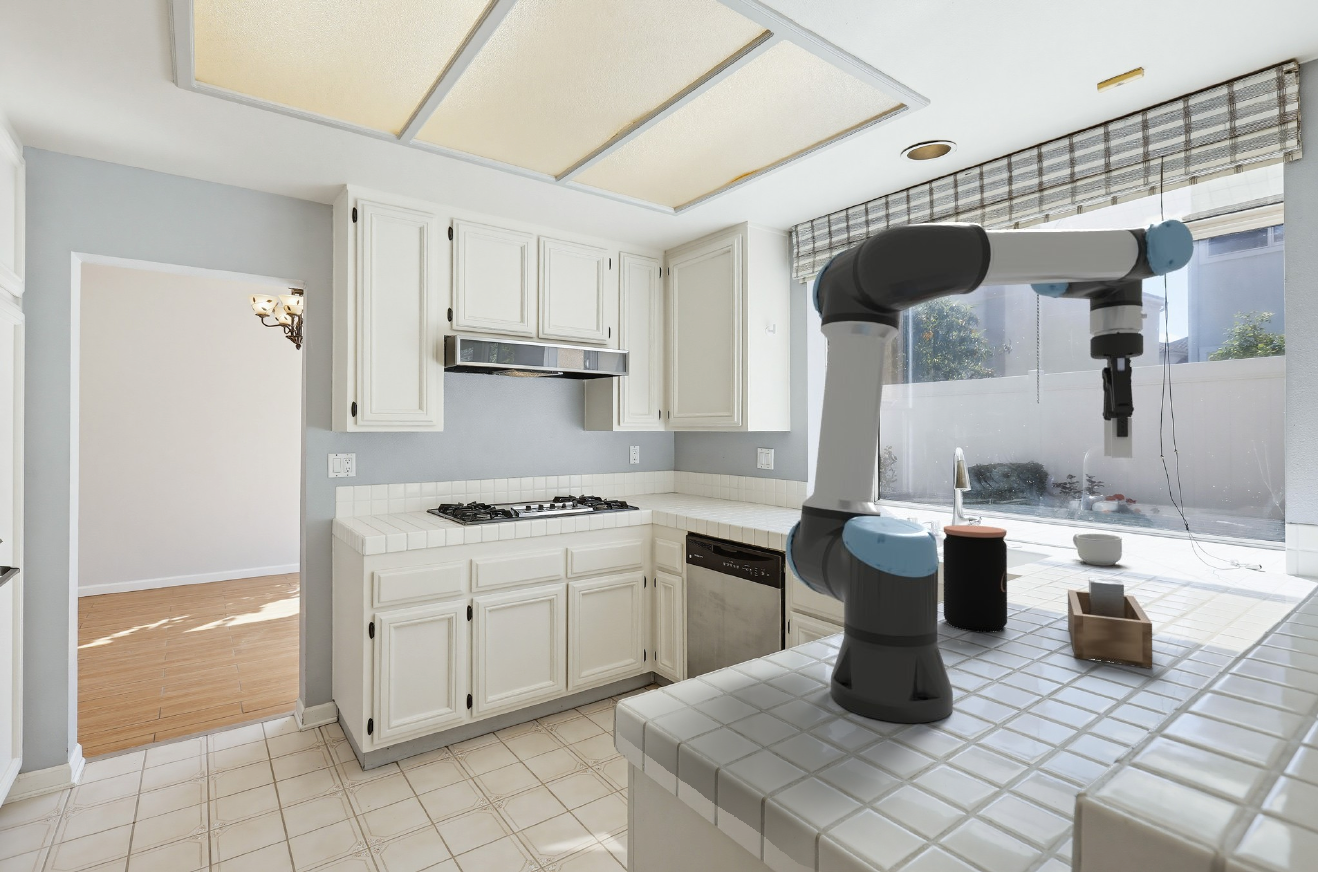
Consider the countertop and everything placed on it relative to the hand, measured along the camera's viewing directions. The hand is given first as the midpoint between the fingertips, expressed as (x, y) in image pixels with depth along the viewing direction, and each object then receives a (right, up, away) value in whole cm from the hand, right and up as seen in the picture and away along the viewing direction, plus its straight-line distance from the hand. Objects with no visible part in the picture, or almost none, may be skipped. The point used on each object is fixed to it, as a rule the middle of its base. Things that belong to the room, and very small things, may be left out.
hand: (1117, 457), depth 112 cm
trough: (-4, -32, -3) cm, 32 cm away
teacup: (+45, -33, +73) cm, 92 cm away
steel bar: (-4, -31, -3) cm, 31 cm away
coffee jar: (-21, -32, +9) cm, 39 cm away
